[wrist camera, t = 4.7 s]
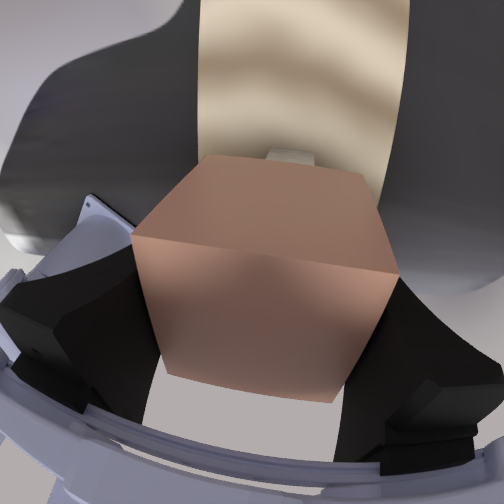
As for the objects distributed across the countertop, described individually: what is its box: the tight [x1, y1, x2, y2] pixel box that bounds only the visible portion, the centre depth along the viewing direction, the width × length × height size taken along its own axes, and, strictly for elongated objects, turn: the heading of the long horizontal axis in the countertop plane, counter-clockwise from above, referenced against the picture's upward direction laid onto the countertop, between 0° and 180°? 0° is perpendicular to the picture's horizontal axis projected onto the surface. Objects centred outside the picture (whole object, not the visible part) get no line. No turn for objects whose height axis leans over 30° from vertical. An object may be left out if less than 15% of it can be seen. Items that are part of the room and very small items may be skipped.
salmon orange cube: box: [130, 154, 400, 403], centre depth 10 cm, size 6×6×6 cm
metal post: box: [265, 146, 315, 166], centre depth 16 cm, size 3×3×6 cm
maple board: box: [198, 0, 410, 208], centre depth 15 cm, size 20×12×1 cm, turn 177°
